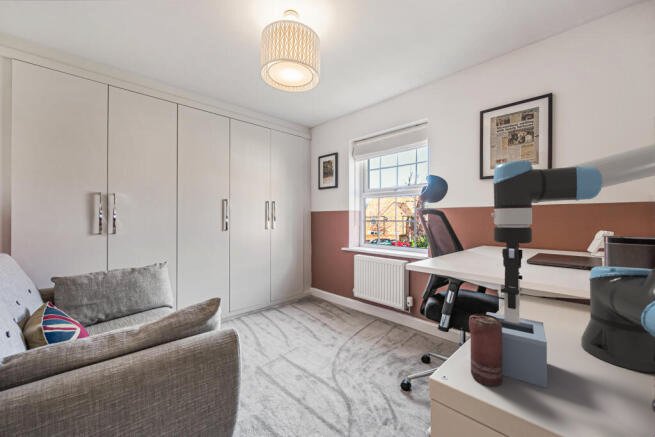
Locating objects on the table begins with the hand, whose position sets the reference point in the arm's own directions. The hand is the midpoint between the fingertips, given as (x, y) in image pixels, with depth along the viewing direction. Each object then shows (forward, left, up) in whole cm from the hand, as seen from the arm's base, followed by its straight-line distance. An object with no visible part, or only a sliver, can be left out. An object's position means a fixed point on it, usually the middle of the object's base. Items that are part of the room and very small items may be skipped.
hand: (512, 312), depth 63 cm
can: (+5, +10, -13) cm, 17 cm away
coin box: (0, 0, -13) cm, 13 cm away
